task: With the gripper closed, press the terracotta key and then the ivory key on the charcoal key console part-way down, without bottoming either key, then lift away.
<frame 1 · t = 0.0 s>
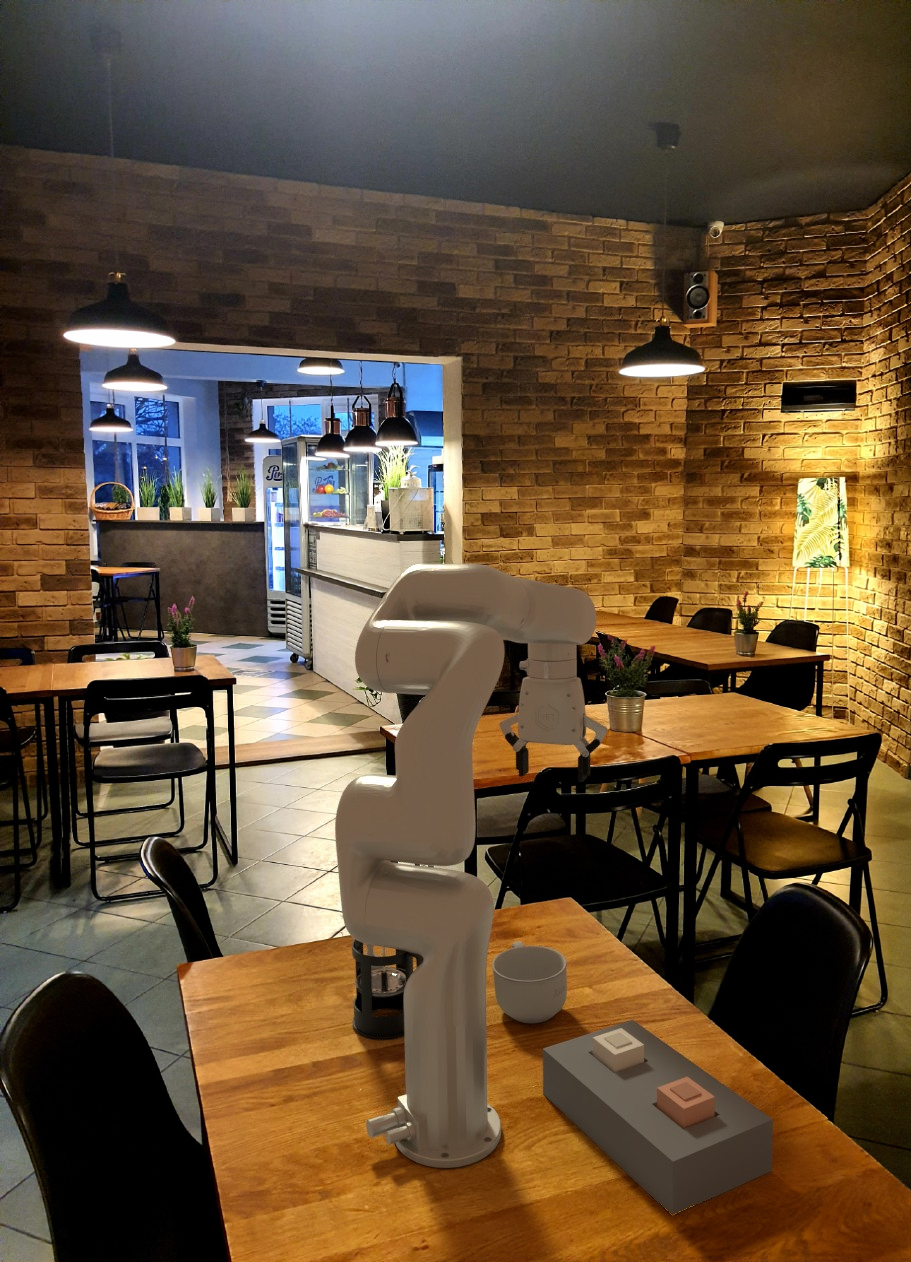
hand: (552, 777, 148), 31 cm above the table, tool pointing down, fingers open, 9 cm apart
key terracotta: (685, 1103, 104), point 7 cm above the table, slide at 0.0 cm
key console: (649, 1129, 110), on the table
french press: (388, 1024, 134), on the table
key ivory: (618, 1051, 114), point 7 cm above the table, slide at 0.0 cm
chalice: (370, 972, 150), on the table
teacup: (529, 1008, 138), on the table
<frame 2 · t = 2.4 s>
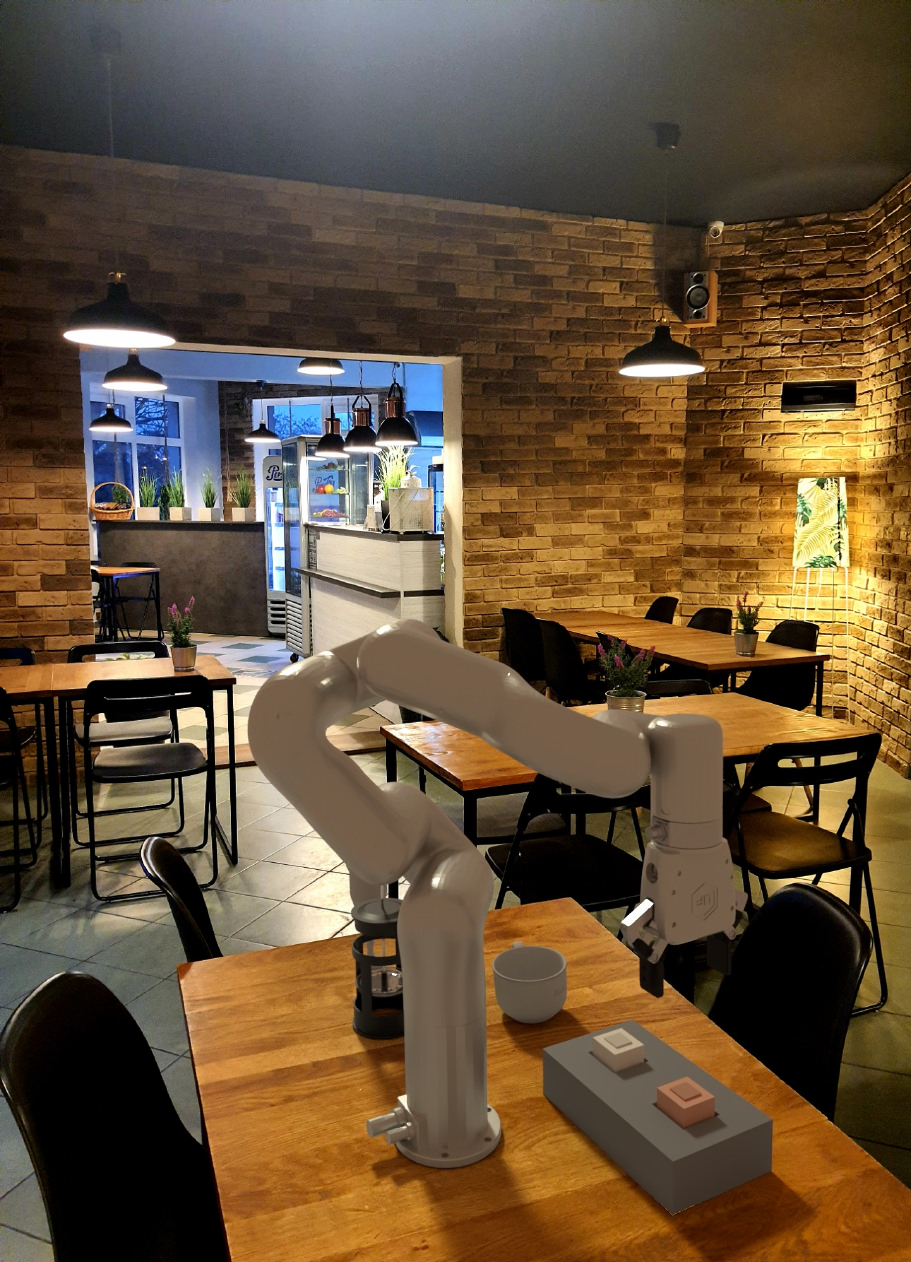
hand: (685, 980, 103), 21 cm above the table, tool pointing down, fingers open, 9 cm apart
nothing on the table moved.
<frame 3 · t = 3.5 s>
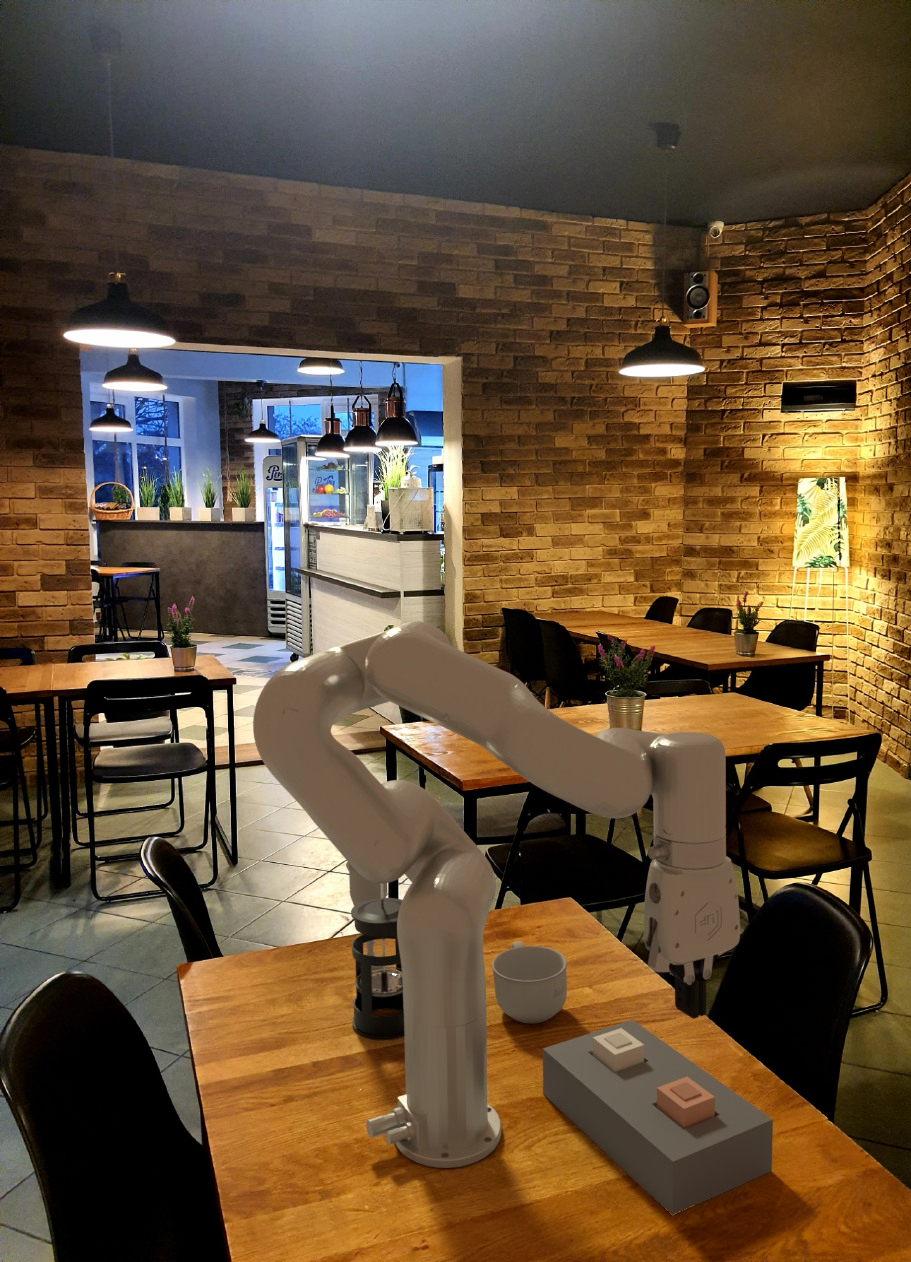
hand: (690, 1011, 102), 17 cm above the table, tool pointing down, fingers closed
nothing on the table moved.
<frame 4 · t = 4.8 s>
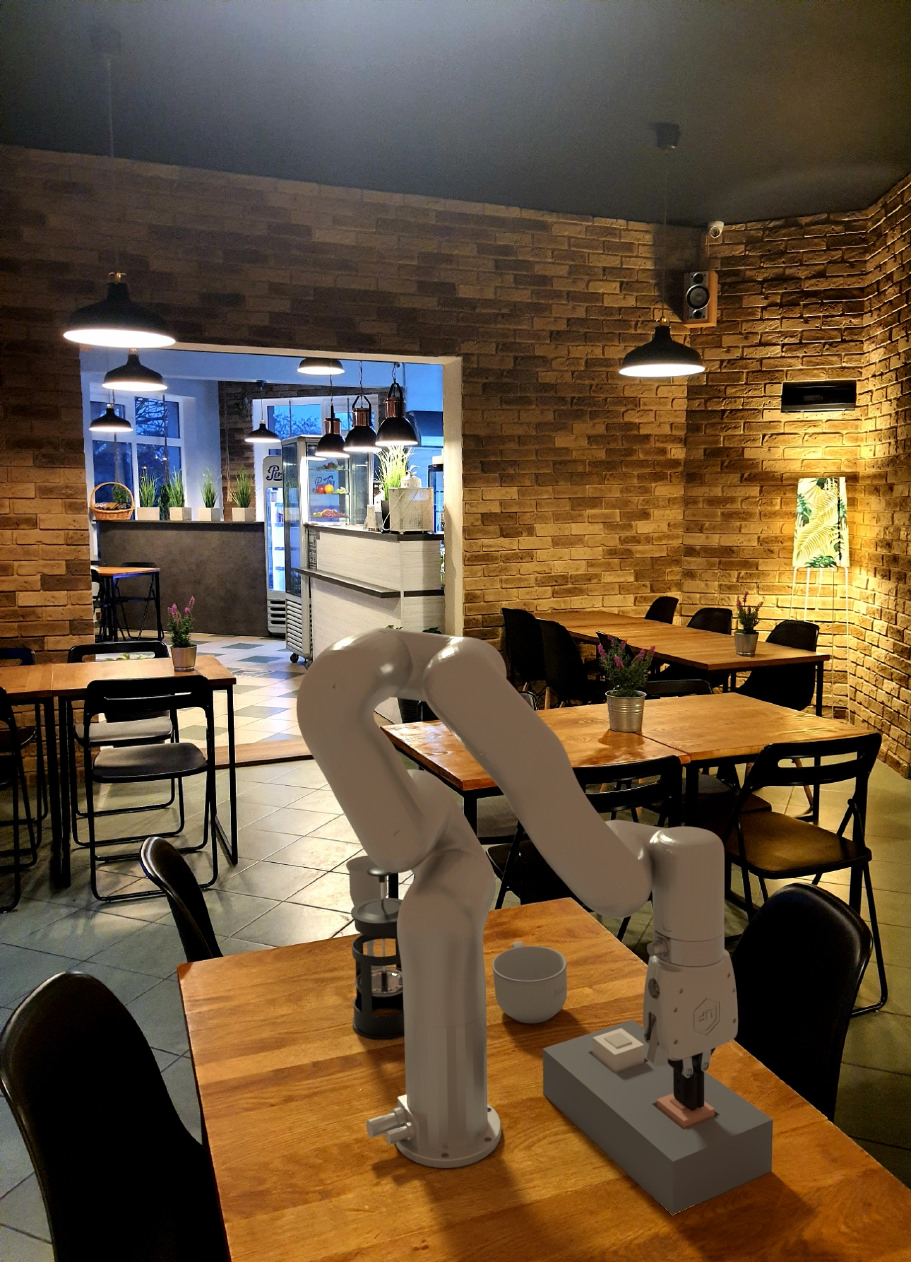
hand: (688, 1102, 104), 7 cm above the table, tool pointing down, fingers closed
key terracotta: (685, 1115, 104), point 5 cm above the table, slide at 1.4 cm, touching gripper
everything else where it was.
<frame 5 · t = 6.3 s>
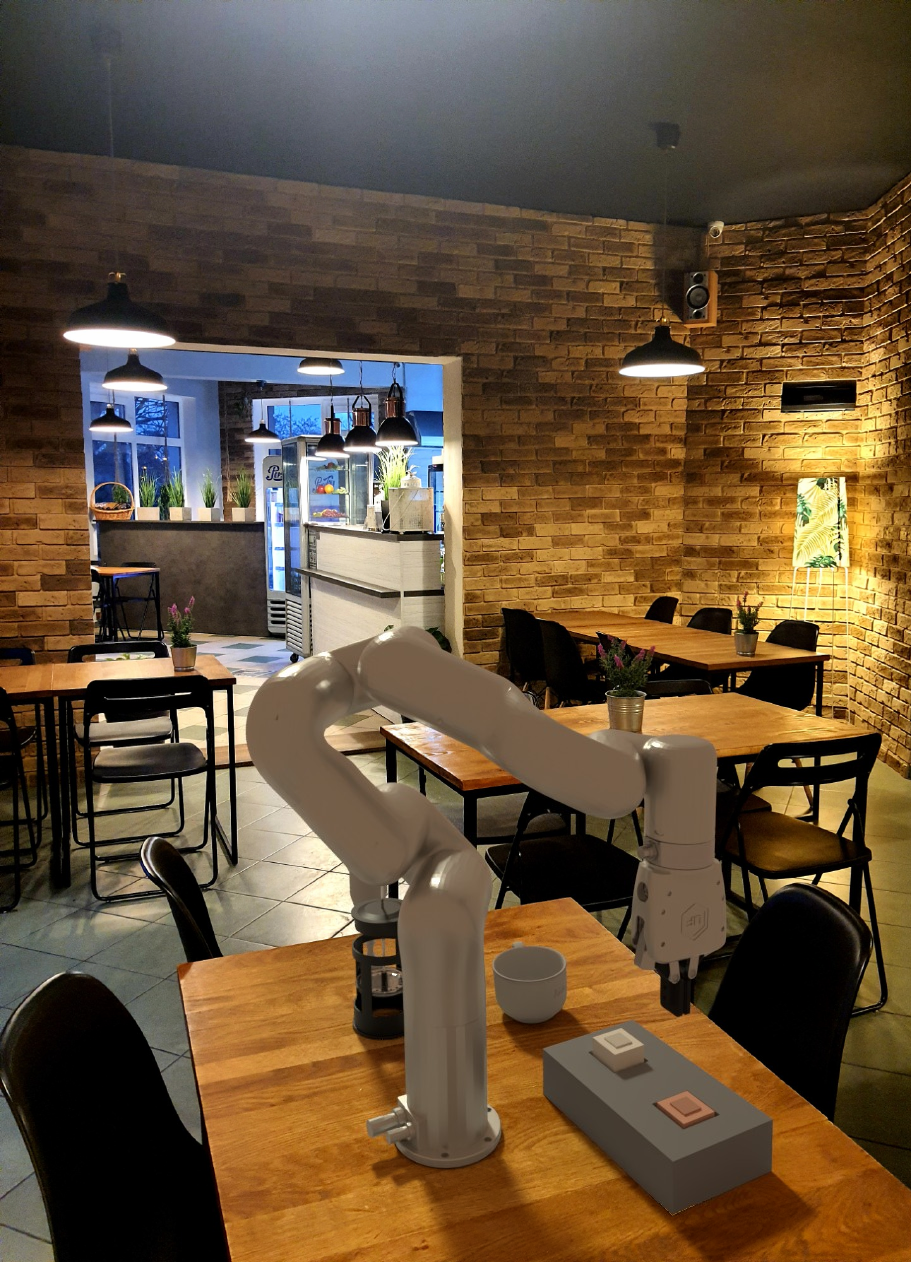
hand: (674, 1009, 104), 17 cm above the table, tool pointing down, fingers closed
key terracotta: (685, 1118, 104), point 5 cm above the table, slide at 1.7 cm
everything else where it was.
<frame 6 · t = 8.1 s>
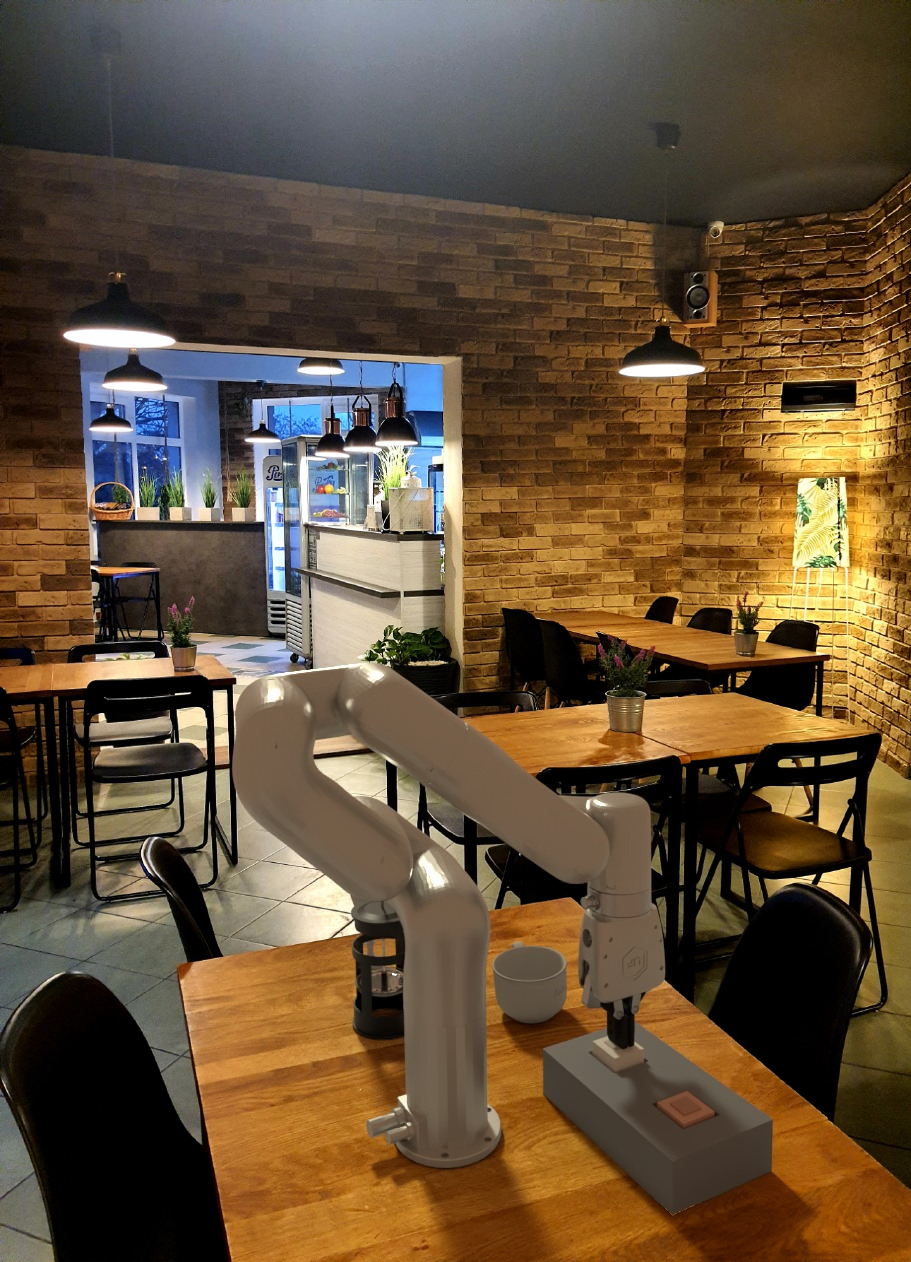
hand: (620, 1042, 114), 8 cm above the table, tool pointing down, fingers closed
key ivory: (618, 1055, 114), point 6 cm above the table, slide at 0.5 cm, touching gripper
everything else where it was.
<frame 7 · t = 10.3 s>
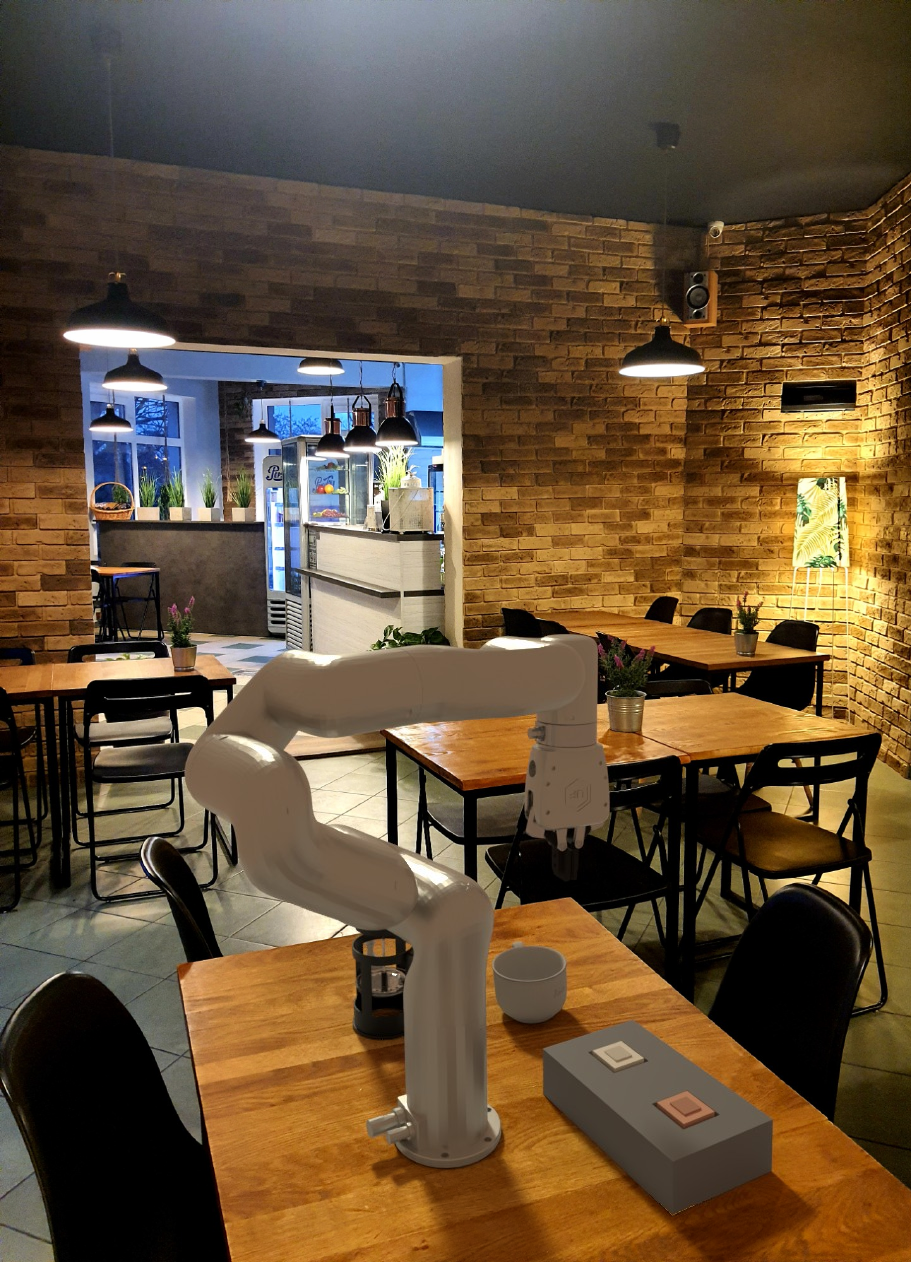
hand: (565, 876, 118), 26 cm above the table, tool pointing down, fingers closed
key ivory: (618, 1065, 114), point 5 cm above the table, slide at 1.7 cm
everything else where it was.
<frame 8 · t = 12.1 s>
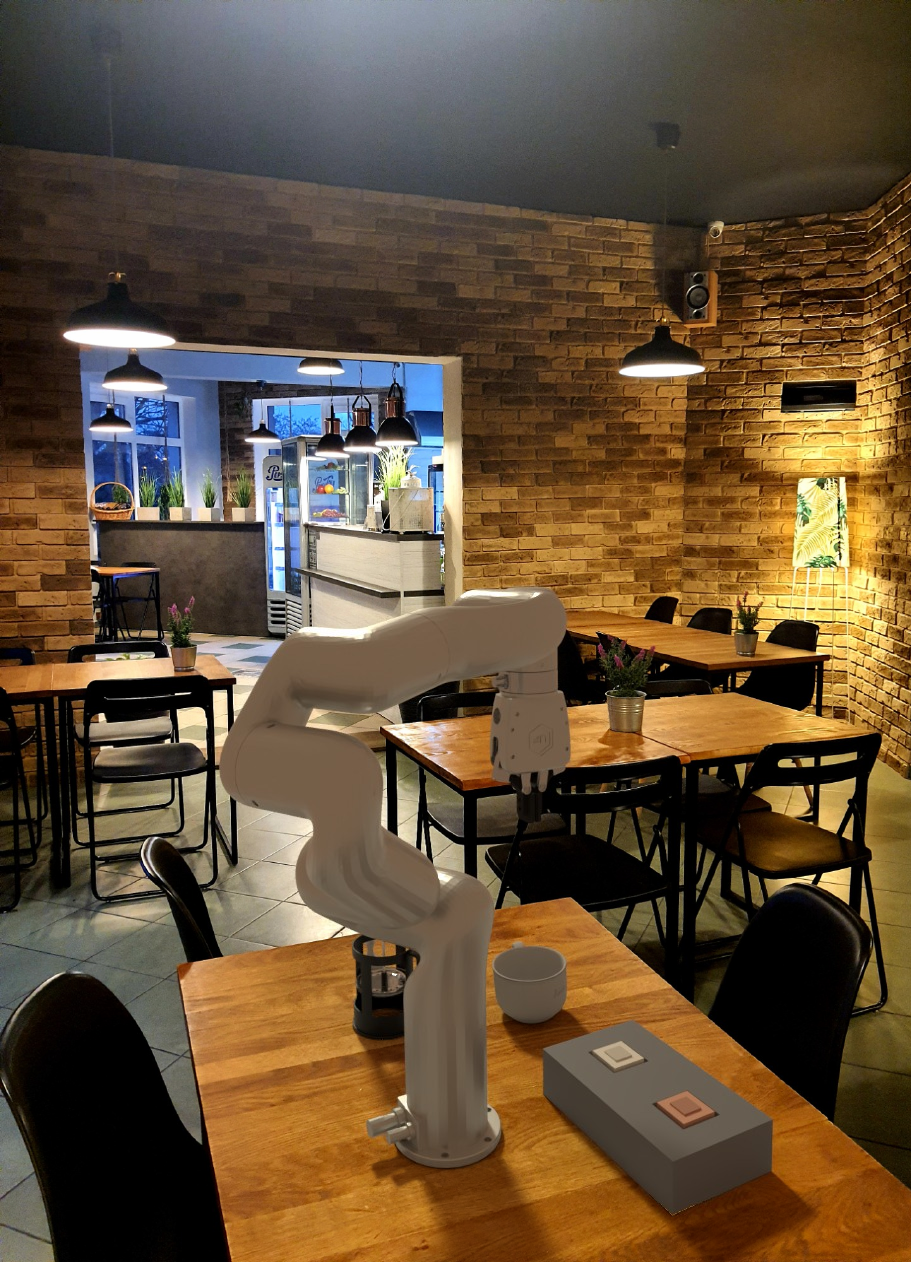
hand: (529, 819, 123), 32 cm above the table, tool pointing down, fingers closed
nothing on the table moved.
at the end: key terracotta slide at 1.7 cm; key ivory slide at 1.7 cm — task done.
